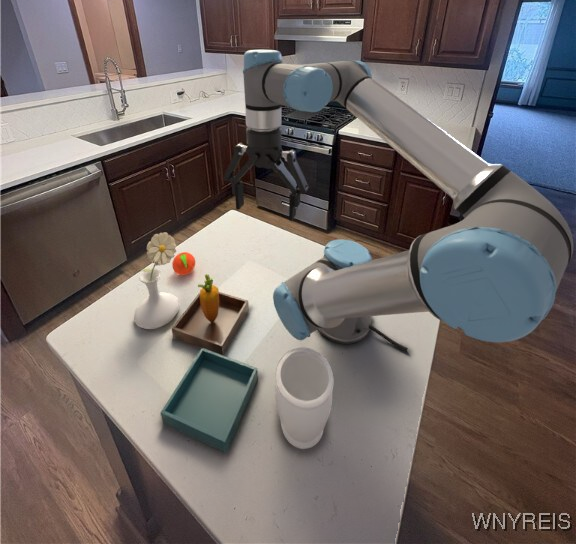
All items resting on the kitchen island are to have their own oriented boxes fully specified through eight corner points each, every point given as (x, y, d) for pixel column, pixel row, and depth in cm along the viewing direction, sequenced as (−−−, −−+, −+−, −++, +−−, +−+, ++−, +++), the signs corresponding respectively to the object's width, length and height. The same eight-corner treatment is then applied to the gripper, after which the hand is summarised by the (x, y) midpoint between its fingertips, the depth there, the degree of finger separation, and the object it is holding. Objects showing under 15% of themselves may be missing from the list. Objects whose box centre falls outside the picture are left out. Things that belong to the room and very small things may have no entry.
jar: (265, 422, 62) (263, 373, 56) (300, 384, 69) (302, 336, 63) (304, 472, 55) (307, 422, 49) (339, 424, 62) (345, 375, 56)
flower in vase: (142, 341, 78) (123, 262, 68) (130, 312, 86) (111, 237, 76) (192, 314, 85) (181, 238, 75) (176, 289, 93) (164, 218, 84)
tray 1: (248, 309, 87) (248, 300, 85) (222, 356, 74) (221, 346, 73) (204, 296, 91) (203, 287, 90) (173, 337, 79) (171, 328, 77)
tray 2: (258, 377, 70) (257, 367, 68) (226, 452, 57) (225, 442, 56) (203, 357, 74) (201, 347, 73) (162, 423, 62) (160, 412, 60)
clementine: (199, 277, 98) (197, 259, 95) (177, 285, 95) (173, 267, 92) (193, 262, 104) (191, 244, 101) (171, 269, 101) (168, 251, 98)
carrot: (217, 331, 80) (212, 287, 74) (199, 328, 81) (193, 284, 75) (224, 315, 84) (220, 272, 78) (207, 312, 85) (202, 269, 79)
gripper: (325, 128, 66) (320, 213, 74) (221, 116, 73) (227, 195, 82) (316, 138, 59) (311, 231, 68) (203, 125, 67) (211, 210, 75)
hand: (265, 212), depth 75 cm, fingers open, 13 cm apart
